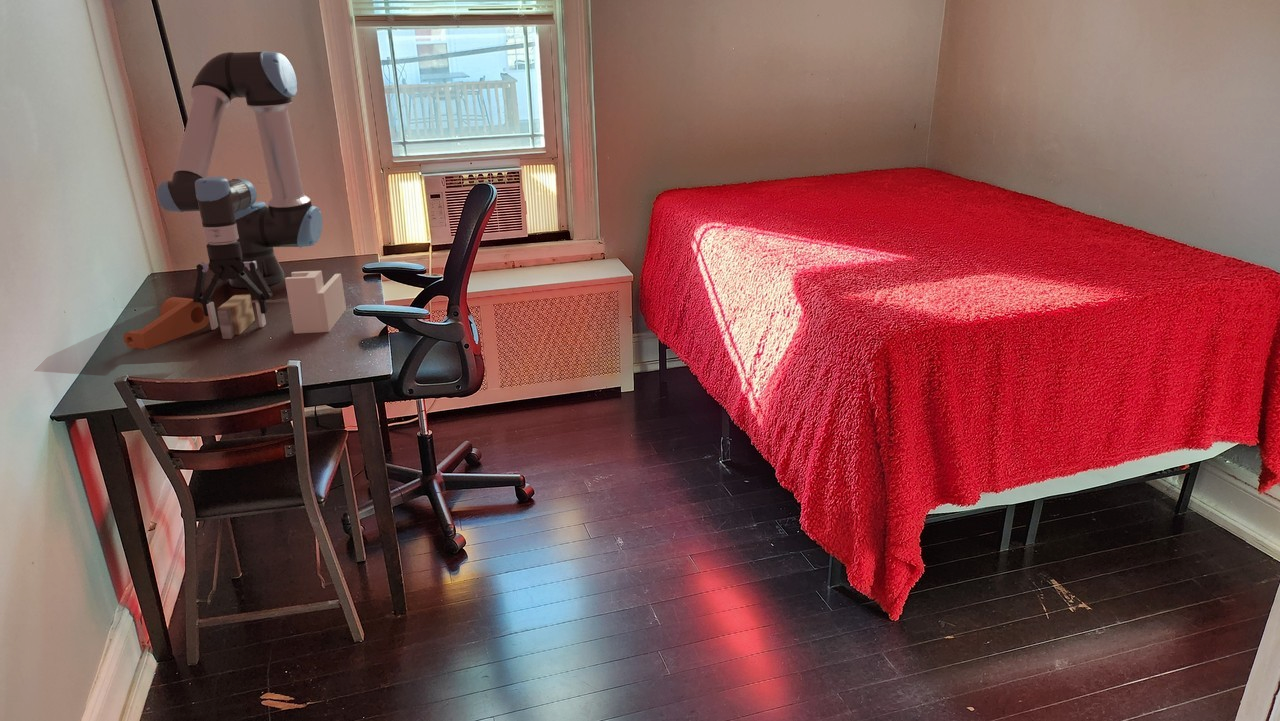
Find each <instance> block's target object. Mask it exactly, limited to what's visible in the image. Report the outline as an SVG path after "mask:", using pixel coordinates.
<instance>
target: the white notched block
mask: <svg viewBox="0 0 1280 721" xmlns="http://www.w3.org/2000/svg"><path fill="white" fill-rule="evenodd" d="M290 273H291V274H290V275H291V276H288V277H285V279H284V282H285V287H286V292H287V293H286V294H287V300H288V305H289V311H290V318H291V324H292V329H293V334H294V335H295V334H309V333H310V334H313V333H330V332H331V330H332V329H333V328H334V326H336V324H337V322H338V321H339V320H340V319H341V317H342V316H343V315H344V313H345V312H346V311H347V305H346V298H345V292H344V285H343V284H344V283H343V278H342V273H334V275H332V277H331V278H330V279H329V280H328V281H327V282H326V283H325V284H324V277H323V271H322V270H307V271H306V270H303V271H292V272H290ZM345 310H346V311H345ZM344 311H345V312H344ZM342 314H343V315H342Z"/></svg>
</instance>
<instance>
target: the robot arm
mask: <svg viewBox="0 0 1280 721" xmlns="http://www.w3.org/2000/svg"><path fill="white" fill-rule="evenodd" d="M297 81H298V80H297V75H296V73H295V69H294V68H293V65H292V63H291V62H290V61H289V59H288V58H287V57H286V56H285V55H284V54H283V53H282V52H281V53H280V52H278V51H277V52H276V51H266V50H264V51H246V52H232V51H231V52H229V51H228V52H224V53H220V54H217V55H216V56H214V57H212V58H211V59H209V60H208V61H207V62H206V63H205V64H204V65H203V67H202V68H201V69H200V70H199V71H198V73H197V75H196V76H195V78H194V80H193V82H192V85H191V89H190V97H191V98H192V103H191V107H190V111H189V115H188V119H187V121H186V126H185V129H184V133H183V137H182V141H181V143H180V144H181V145H180V149H179V152H178V156H177V160H176V164H175V168H174V170H173V171H174V172H173V175H172V177H171V178H172V179H171V180H167V181H162V182H161V183H160V184H158V186H157V188H156V190H157V191H156V198H157V201H158V204H159V205H160V207H162V208H163V210H165V211H168V212H178V213H184V212H185V213H186V212H199V215H200V219H201V226H202V230H203V235H204V240H205V242H206V243H207V244H206V251H207V252H206V253H207V255H208V260H209V262H208V263H205V262H200V263H198V264H197V265H196V272H197V276H196V282H195V286H194V294H193V298H192V299H193V301H194V302H199V303H201V304H202V305H203V309H204V314H205V316H209V324H210V329H211V330H212V331H213V330H216V329H217V328H218V327H219V321H218V317H217V312H216V308H215V303H214V301H211V299H212V298H213V295H214V294H215V291H216V289H217V287H218V286H219V283H220V281H221V280H222V281H223V280H225V281H226V280H229V285H230V286H231V287H233V288H238V289H239V288H240V289H247V290H248V292H249V293H250V294H251V295H252V296H253V297H254V298H255V299H256V301H255V309H256V313H257V320H258V324H259V325H258V326H259V328H264V327H265V326H266V324H267V320H266V315H265V314H266V313H267V312H268V306H267V300H269V299H271V298H272V297H273V295H274V294H273V292H272V289H270V287H269V286H272V285H277V284H278V283H279V284H280V283H281V282H283V281H285V278H286V277H285V272H284V270H283V268H282V265H281V264H280V263H279V260H278V259H277V257H276V255H275V251H274V248H300V249H301V248H304V247H313V246H315V245H316V244H317V243H318V242H319V240H320V239H321V234H322V231H323V215H322V211H321V209H320V208H319V207H318V206H316V205H312V200H311V198H310V197H309V196H307V195H306V194H305V193H304V186H303V183H302V177H301V176H302V175H301V172H300V166H299V162H298V157H297V156H298V155H297V151H296V146H295V145H296V144H295V140H294V135H293V129H292V125H291V119H290V114H289V108H290V106H291V105H292V104H293V99H292V97H294V96H296V95H297V93H298V87H297V86H298V82H297ZM237 98H238V99H239V98H245V102H246V105H247V107H248V108H250V110H252V111H253V112H254V116H255V121H256V125H257V129H258V135H259V140H260V146H261V149H262V155H263V159H264V163H265V164H264V165H265V167H266V168H265V169H266V174H267V177H268V178H267V179H268V182H269V188H270V193H271V199H270V200H269V201H268V203H267V204H266V202H265V201H256V200H257V197H258V196H257V194H258V193H257V190H256V187H255V186H254V184H253V183H252V182H251V181H250V180H248V179H245V178H232V179H229V180H228V178H227V177H224V176H211V177H210V176H209V171H210V169H211V165H212V160H213V156H214V151H215V149H216V145H217V140H218V136H219V132H220V129H221V124H222V120H223V116H224V112H225V110H227V109H228V108H229V107H230V106H231V102H232V100H234V99H237ZM209 270H210V271H211V272H213V276H212V278H211V281H210V283H209V285H208V287H207V289H206V291H205V293H204V288H205V283H206V279H207V278H206V277H207V272H208V271H209ZM203 294H204V295H203Z"/></svg>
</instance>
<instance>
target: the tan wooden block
mask: <svg viewBox="0 0 1280 721" xmlns="http://www.w3.org/2000/svg"><path fill="white" fill-rule="evenodd" d="M216 314H217V316H218V317H217V319H218V324H219V328H220V332H221V337H222V339H223V340H229V339H230V340H231V339H232V338H234V337H235V336H236V335H237V336H238V335H241V334H242V333H243V332H244V331H245V330H247V329H248V327H250V326H251V325H252V324H253V323H254V322H255V320H256V319H255V313H254V307H253V302H252V296H251V293H249V294H234V295H232V296H231V297H230V298H228V300H226V301H225V302H224V303H222V304H221V305H220V306H218V307H217V312H216ZM253 321H254V322H253Z"/></svg>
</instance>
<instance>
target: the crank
mask: <svg viewBox="0 0 1280 721" xmlns="http://www.w3.org/2000/svg"><path fill="white" fill-rule="evenodd" d="M159 315H160V316H159V317H157V318H156V319H154V320H153V321H151V322H149V323H148V324H147V325H146V326H144V327H142V328H141V329H139V330H136V329H134V330H130V331H128V332H125V333H124V334H123V341H124V343H125V345H126V346H127V347H128V348H129V349H132V350H133V349H134V350H135V349H141V350H148V349H151V348H154V347H156V346H159V345H161V344H165V343H167V342H170V341H173V340H175V339H178V338H181V337H183V336H186V335H189V334H192V333H194V332H197V331H200V330H202V329H205V328H206V327H207V326H208V325H209V324H210V320H209V316H205V314H204V309H203V305H202V304H201V303H199V302H194V301H193V298H187V297H179V296H178V297H177V296H171V297H169V298H168V297H167V299H165V300H164V301H163V302H162V305H161V307H160V311H159Z"/></svg>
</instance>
